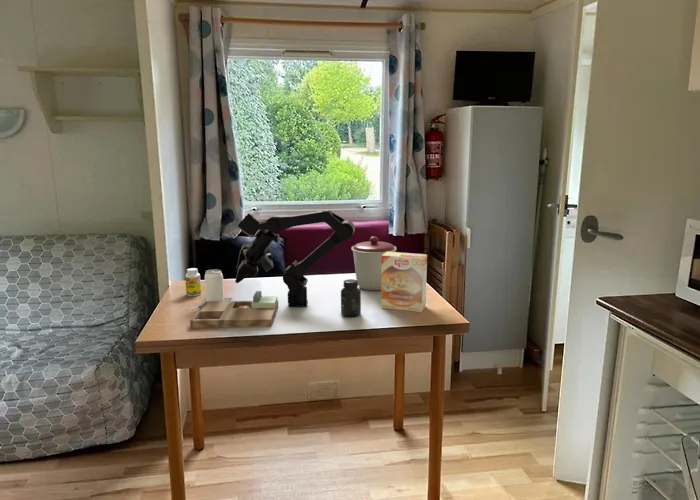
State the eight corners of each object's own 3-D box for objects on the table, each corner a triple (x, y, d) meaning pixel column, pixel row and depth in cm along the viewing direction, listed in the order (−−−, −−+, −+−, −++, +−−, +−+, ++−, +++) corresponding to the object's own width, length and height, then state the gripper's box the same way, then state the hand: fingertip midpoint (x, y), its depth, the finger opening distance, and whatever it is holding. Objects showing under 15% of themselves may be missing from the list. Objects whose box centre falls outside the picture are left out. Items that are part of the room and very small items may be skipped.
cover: (277, 300, 188) (277, 290, 187) (274, 307, 180) (274, 297, 180) (255, 300, 188) (254, 290, 187) (251, 308, 180) (251, 297, 180)
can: (211, 306, 189) (208, 274, 187) (203, 302, 194) (201, 270, 192) (227, 302, 193) (225, 271, 191) (219, 298, 198) (217, 268, 196)
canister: (354, 280, 223) (354, 231, 219) (397, 282, 221) (397, 232, 216) (348, 293, 206) (348, 240, 201) (394, 294, 203) (395, 241, 199)
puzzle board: (278, 307, 189) (278, 300, 189) (271, 326, 170) (270, 319, 169) (206, 308, 189) (205, 301, 188) (190, 327, 169) (190, 320, 169)
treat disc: (250, 310, 187) (250, 305, 186) (249, 313, 183) (248, 308, 183) (239, 310, 187) (239, 305, 186) (237, 314, 183) (237, 309, 182)
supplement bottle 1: (183, 295, 204) (181, 270, 201) (191, 291, 209) (190, 267, 207) (196, 297, 202) (194, 271, 200) (204, 293, 207) (202, 267, 205)
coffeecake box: (380, 308, 187) (380, 255, 183) (386, 302, 194) (386, 250, 190) (421, 312, 182) (423, 258, 178) (426, 306, 189) (427, 253, 185)
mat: (231, 298, 200) (231, 297, 200) (226, 306, 190) (226, 305, 190) (205, 298, 200) (205, 297, 200) (198, 307, 190) (198, 306, 190)
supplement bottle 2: (337, 313, 183) (337, 279, 180) (355, 310, 185) (355, 277, 183) (345, 319, 176) (345, 284, 174) (364, 316, 179) (364, 282, 177)
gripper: (280, 266, 184) (255, 299, 187) (278, 245, 200) (255, 275, 204) (253, 250, 179) (228, 284, 183) (253, 230, 196) (230, 261, 200)
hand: (236, 276), depth 193 cm, fingers open, 9 cm apart
